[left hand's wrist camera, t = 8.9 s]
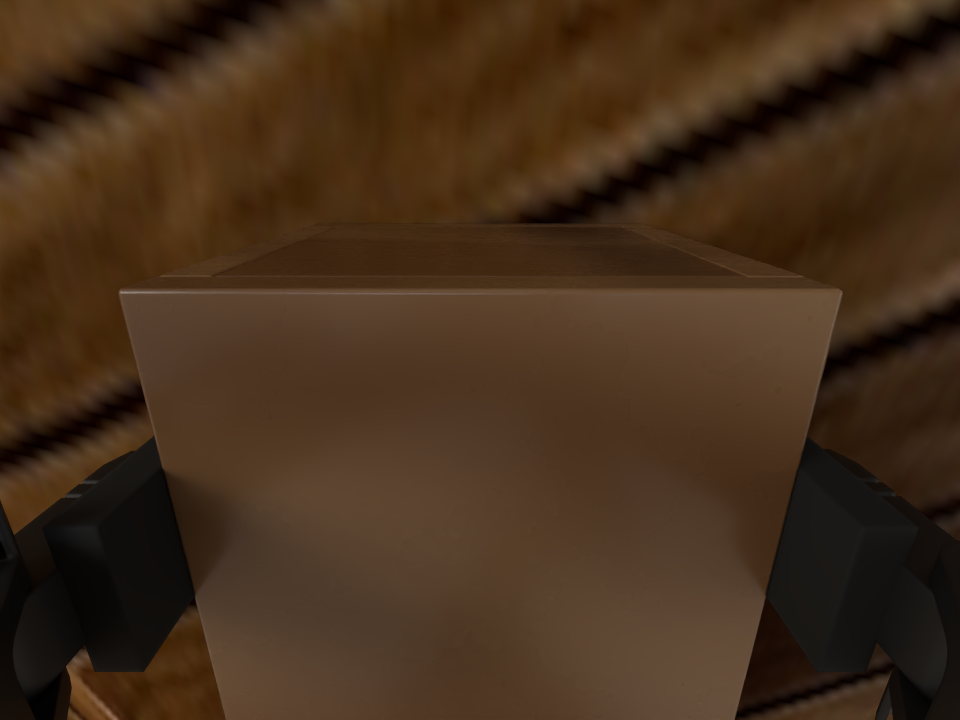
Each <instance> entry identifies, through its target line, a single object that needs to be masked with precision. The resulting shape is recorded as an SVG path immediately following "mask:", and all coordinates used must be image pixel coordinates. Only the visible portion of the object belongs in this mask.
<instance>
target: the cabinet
mask: <svg viewBox="0 0 960 720" xmlns="http://www.w3.org/2000/svg"><path fill="white" fill-rule="evenodd" d="M842 296H843V292H842V290H841V289H839V288H836V287H833V286H830V285H827V284H824V283H821V282H818V281H815V280H812V279H809V278H806V277H804V276H802V275H799V274H796V273H793V272H790V271H787V270H784V269H781V268H778V267H775V266H772V265H769V264H766V263H762V262H759V261H756V260H753V259H750V258H747V257H744V256H741V255H738V254H735V253H732V252H729V251H726V250H723V249H720V248H717V247H713V246H710V245H707V244H704V243H701V242H698V241H695V240H692V239H689V238H686V237H683V236H680V235H677V234H674V233H671V232H667V231H664V230H661V229H658V228H655V227H651V226H648V225H645V224H322V223H318V224H315V225H312V226H310V227H306V228H303V229H300V230H297V231H294V232H291V233H288V234H285V235H282V236H279V237H276V238H273V239H270V240H267V241H264V242H261V243H258V244H255V245H251V246H248V247H245V248H242V249H239V250H236V251H233V252H230V253H227V254H224V255H221V256H218V257H215V258H212V259H209V260H206V261H203V262H200V263H197V264H193V265H190V266H187V267H184V268H181V269H178V270H175V271H172V272H169V273H166V274H163V275H161V276H159V277H154V278H151V279H147V280H144V281H141V282H138V283H135V284H132V285H129V286H126V287H123V288H121V289H120V290H119V298H120V302H121V306H122V310H123V314H124V318H125V322H126V326H127V330H128V334H129V338H130V341H131V345H132V349H133V353H134V357H135V361H136V365H137V369H138V373H139V377H140V381H141V385H142V389H143V393H144V397H145V401H146V405H147V409H148V413H149V417H150V421H151V425H152V429H153V433H154V437H155V440H156V444H157V448H158V452H159V456H160V460H161V464H162V468H163V472H164V476H165V480H166V484H167V488H168V492H169V496H170V500H171V504H172V508H173V512H174V516H175V520H176V524H177V528H178V532H179V536H180V539H181V543H182V547H183V551H184V555H185V559H186V563H187V567H188V571H189V575H190V579H191V583H192V587H193V591H194V595H195V599H196V603H197V607H198V611H199V615H200V619H201V623H202V627H203V631H204V635H205V638H206V642H207V646H208V650H209V654H210V658H211V662H212V666H213V670H214V674H215V678H216V682H217V686H218V690H219V694H220V698H221V702H222V706H223V710H224V714H225V718H226V720H735V716H736V712H737V708H738V704H739V700H740V696H741V692H742V689H743V685H744V681H745V677H746V673H747V669H748V665H749V661H750V657H751V653H752V649H753V645H754V642H755V638H756V634H757V630H758V626H759V622H760V618H761V614H762V610H763V606H764V602H765V598H766V594H767V591H768V587H769V583H770V579H771V575H772V571H773V567H774V563H775V559H776V555H777V551H778V547H779V543H780V540H781V536H782V532H783V528H784V524H785V520H786V516H787V512H788V508H789V504H790V500H791V496H792V493H793V489H794V485H795V481H796V477H797V473H798V469H799V465H800V461H801V457H802V453H803V449H804V445H805V442H806V438H807V434H808V430H809V426H810V422H811V418H812V414H813V410H814V406H815V402H816V398H817V394H818V391H819V387H820V383H821V379H822V375H823V371H824V367H825V363H826V359H827V355H828V351H829V347H830V344H831V340H832V336H833V332H834V328H835V324H836V320H837V316H838V312H839V308H840V304H841V300H842Z"/></svg>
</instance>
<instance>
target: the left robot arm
mask: <svg viewBox="0 0 960 720" xmlns="http://www.w3.org/2000/svg"><path fill="white" fill-rule="evenodd" d="M194 596H195V595H194V591H193V587H192V583H191V579H190V575H189V571H188V567H187V563H186V559H185V555H184V551H183V547H182V543H181V539H180V536H179V532H178V528H177V524H176V520H175V516H174V512H173V508H172V504H171V500H170V496H169V492H168V488H167V484H166V480H165V476H164V472H163V468H162V464H161V460H160V456H159V452H158V448H157V444H156V440H155V437H154V436H153V437H152V438H151V439H150V440H149V441H147V442H146V443H145V444H144V445H142V446H141V447H140V448H139V449H138V450H136V451H131V452H129V453H127V454H125V455H123V456H121V457H119V458H117V459H115V460H112V461H110V462H108V463H106V464H104V465H103V466H102V467H100V468H99V469H98V470H97V471H95V472H94V473H93V474H91V475H90V476H89V477H88V478H86V479H85V480H84V481H83V484H79V485H77V486H76V487H75V488H74V489H72V490H71V491H70V492H69V493H67V494H66V497H65V498H61V499H60V500H58V501H57V502H56V503H55V504H53V505H52V506H51V507H49V508H48V509H47V510H46V511H44V512H43V513H42V514H40V515H39V516H38V517H37V518H35V519H34V520H33V521H32V522H30V523H29V524H28V525H26V526H25V527H24V528H23V529H21V530H20V531H19V532H18V533H16V534H15V535H14V534H13V532H12V529H11V526H10V524H9V521H8V519H7V516H6V514H5V511H4V509H3V506H2V504H1V501H0V720H67V715H68V709H69V702H70V695H71V689H72V687H71V681H70V676H69V673H68V671H67V668H66V666H67V664H68V663H69V662H70V661H71V660H72V658H73V657H74V656H75V655H76V654H77V652H78V651H79V650H80V649H81V648H82V646H83V645H84V644H85V646H86V649H87V652H88V654H89V657H90V660H91V662H92V665H93V668H94V671H95V672H144V671H145V669H146V668H147V666H148V665H149V663H150V662H151V660H152V659H153V657H154V656H155V654H156V653H157V651H158V650H159V648H160V647H161V645H162V644H163V642H164V641H165V639H166V638H167V636H168V635H169V633H170V632H171V630H172V629H173V627H174V626H175V624H176V623H177V621H178V620H179V618H180V617H181V615H182V614H183V612H184V611H185V609H186V608H187V606H188V605H189V603H190V602H191V600H192V599H193V597H194ZM766 597H767V598H768V600H769V601H770V603H771V604H772V606H773V607H774V608H775V610H776V611H777V613H778V614H779V616H780V617H781V619H782V620H783V622H784V623H785V625H786V626H787V628H788V629H789V631H790V632H791V634H792V635H793V637H794V638H795V640H796V641H797V643H798V644H799V646H800V647H801V649H802V650H803V652H804V653H805V655H806V656H807V658H808V659H809V661H810V662H811V664H812V665H813V667H814V668H815V670H816V671H817V672H866V670H867V667H868V664H869V662H870V659H871V656H872V654H873V651H874V648H875V646H876V643H878V644H879V645H880V646H881V647H882V649H883V650H884V651H885V652H886V653H887V655H888V656H889V657H890V658H891V659H892V661H893V662H894V663H895V666H894V668H893V671H892V673H891V676H890V679H889V681H888V684H887V686H886V689H885V691H884V694H883V696H882V699H881V701H880V704H879V706H878V709H877V712H876V717H875V720H886V719H887V717H888V714H891V713H892V714H893V720H960V541H957V540H956V539H954V538H953V537H952V536H951V535H949V534H948V533H947V532H945V531H944V530H943V529H942V528H940V527H939V526H938V525H936V524H935V523H934V522H933V521H931V520H930V519H929V518H927V517H926V516H925V515H924V514H922V513H921V512H920V511H918V510H917V509H916V508H915V507H913V506H912V505H911V504H909V503H908V502H907V501H906V500H904V499H903V498H902V497H900V496H896V493H895V492H894V491H893V490H891V489H890V488H889V487H888V486H886V485H885V484H884V483H879V482H878V479H877V478H876V477H875V476H873V475H872V474H871V473H870V472H868V471H867V470H866V469H864V468H863V467H862V466H861V465H859V464H858V463H856V462H854V461H852V460H850V459H848V458H846V457H844V456H842V455H840V454H838V453H836V452H834V451H832V450H830V449H822V448H821V447H819V446H818V445H817V444H816V443H815V442H813V441H812V440H811V439H810V438H808V437H807V438H806V442H805V445H804V449H803V453H802V457H801V461H800V465H799V469H798V473H797V477H796V481H795V485H794V489H793V493H792V496H791V500H790V504H789V508H788V512H787V516H786V520H785V524H784V528H783V532H782V536H781V540H780V543H779V547H778V551H777V555H776V559H775V563H774V567H773V571H772V575H771V579H770V583H769V587H768V591H767V594H766Z"/></svg>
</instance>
